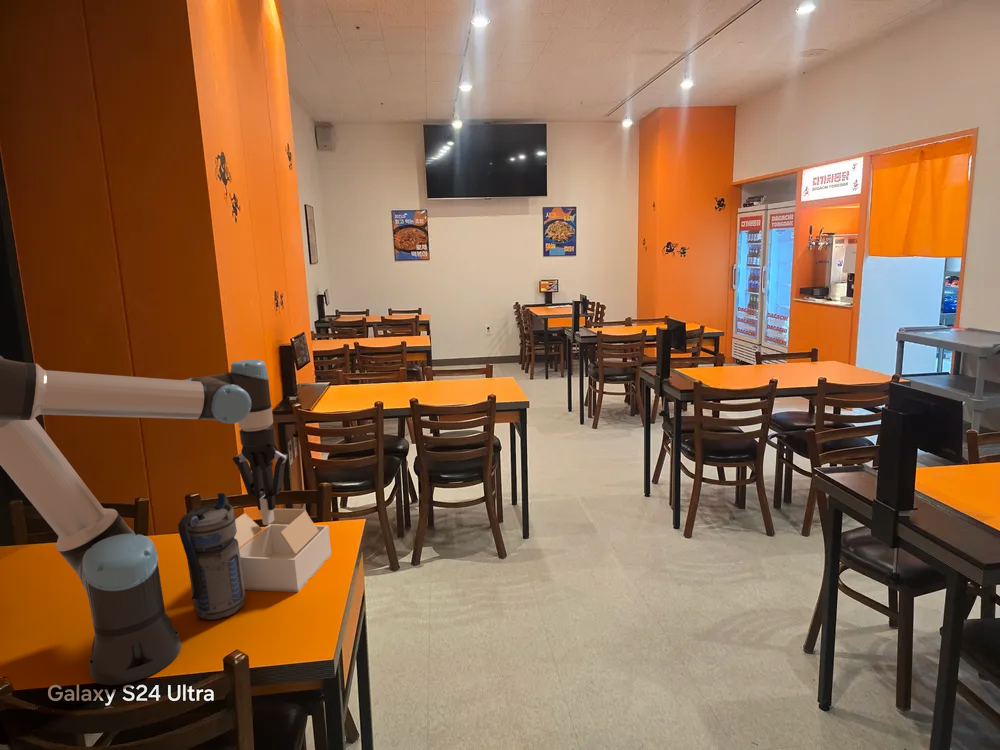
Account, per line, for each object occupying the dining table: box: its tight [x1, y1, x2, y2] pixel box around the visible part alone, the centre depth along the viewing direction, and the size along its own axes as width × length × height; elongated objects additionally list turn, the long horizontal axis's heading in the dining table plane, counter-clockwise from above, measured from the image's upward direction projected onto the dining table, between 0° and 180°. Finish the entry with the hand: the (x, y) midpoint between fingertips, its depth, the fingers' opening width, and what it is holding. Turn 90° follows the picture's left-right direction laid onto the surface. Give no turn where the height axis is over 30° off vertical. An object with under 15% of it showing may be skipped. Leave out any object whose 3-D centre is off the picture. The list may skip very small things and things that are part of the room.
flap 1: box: [270, 507, 308, 525], centre depth 156 cm, size 6×11×1 cm
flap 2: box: [280, 510, 319, 554], centre depth 146 cm, size 12×6×1 cm
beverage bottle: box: [177, 492, 246, 621], centre depth 132 cm, size 10×13×25 cm
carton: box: [234, 512, 332, 593], centre depth 150 cm, size 18×20×13 cm
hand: (268, 522), depth 147 cm, fingers closed
